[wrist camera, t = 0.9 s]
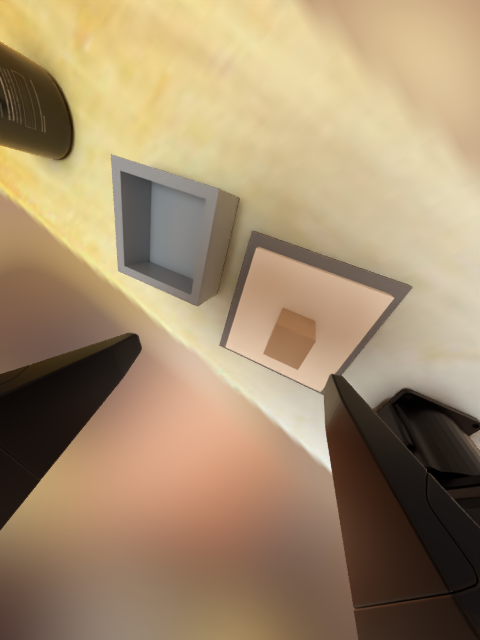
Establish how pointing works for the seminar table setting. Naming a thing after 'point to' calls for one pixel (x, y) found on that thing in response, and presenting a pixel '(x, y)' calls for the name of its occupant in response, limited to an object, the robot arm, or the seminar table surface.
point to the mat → (324, 263)
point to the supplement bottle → (31, 108)
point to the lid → (302, 318)
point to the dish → (171, 230)
